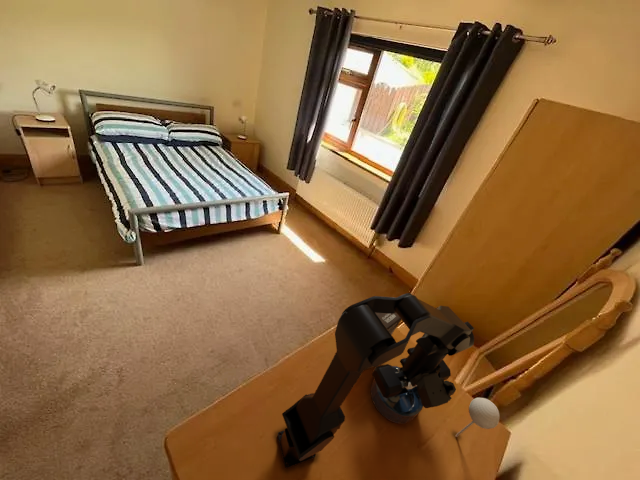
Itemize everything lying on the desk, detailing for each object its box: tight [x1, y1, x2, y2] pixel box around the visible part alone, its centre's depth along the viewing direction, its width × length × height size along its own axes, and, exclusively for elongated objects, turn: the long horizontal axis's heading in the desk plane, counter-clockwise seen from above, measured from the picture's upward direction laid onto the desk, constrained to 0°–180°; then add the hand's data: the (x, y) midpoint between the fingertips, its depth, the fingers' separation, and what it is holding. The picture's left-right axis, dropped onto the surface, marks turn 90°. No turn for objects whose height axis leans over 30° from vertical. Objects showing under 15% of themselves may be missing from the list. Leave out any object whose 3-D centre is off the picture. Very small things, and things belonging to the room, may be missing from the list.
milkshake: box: [388, 372, 417, 403], centre depth 74 cm, size 4×5×10 cm
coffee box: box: [376, 313, 402, 336], centre depth 81 cm, size 9×6×16 cm
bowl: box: [370, 365, 424, 425], centre depth 76 cm, size 12×12×4 cm
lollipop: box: [454, 397, 501, 438], centre depth 69 cm, size 6×6×15 cm
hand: (398, 391), depth 75 cm, fingers closed on milkshake, 4 cm apart
